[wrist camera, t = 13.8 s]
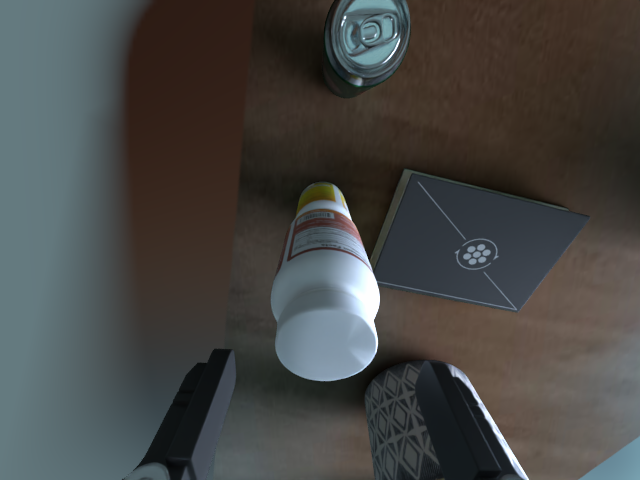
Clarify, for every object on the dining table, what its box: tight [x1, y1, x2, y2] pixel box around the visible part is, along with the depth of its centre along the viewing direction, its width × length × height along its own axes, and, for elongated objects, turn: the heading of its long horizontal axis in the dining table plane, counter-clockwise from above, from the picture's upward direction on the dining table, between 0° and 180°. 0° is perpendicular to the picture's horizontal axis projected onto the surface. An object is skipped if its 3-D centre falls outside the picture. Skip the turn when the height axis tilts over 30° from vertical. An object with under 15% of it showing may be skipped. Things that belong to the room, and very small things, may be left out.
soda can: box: [322, 0, 411, 98], centre depth 19 cm, size 5×5×12 cm
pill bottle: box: [271, 208, 379, 381], centre depth 16 cm, size 6×6×11 cm
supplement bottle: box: [295, 182, 352, 221], centre depth 26 cm, size 6×6×10 cm
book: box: [369, 168, 590, 312], centre depth 31 cm, size 22×15×3 cm
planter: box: [365, 360, 529, 480], centre depth 39 cm, size 19×19×16 cm
